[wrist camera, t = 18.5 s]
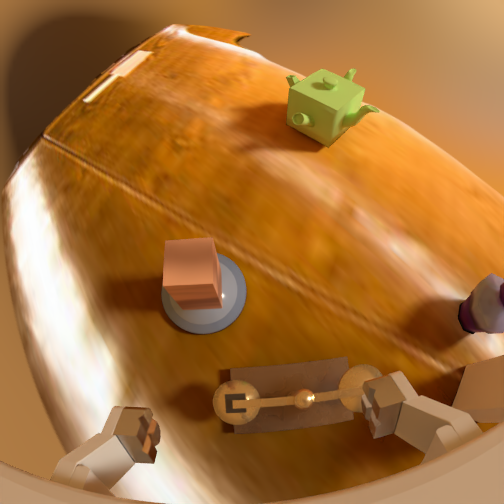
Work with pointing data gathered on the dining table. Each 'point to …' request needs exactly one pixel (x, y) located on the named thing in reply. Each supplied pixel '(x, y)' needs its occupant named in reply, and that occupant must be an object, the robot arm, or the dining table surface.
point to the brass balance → (292, 395)
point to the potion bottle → (484, 307)
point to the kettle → (325, 105)
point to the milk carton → (482, 391)
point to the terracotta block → (193, 273)
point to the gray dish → (212, 318)
